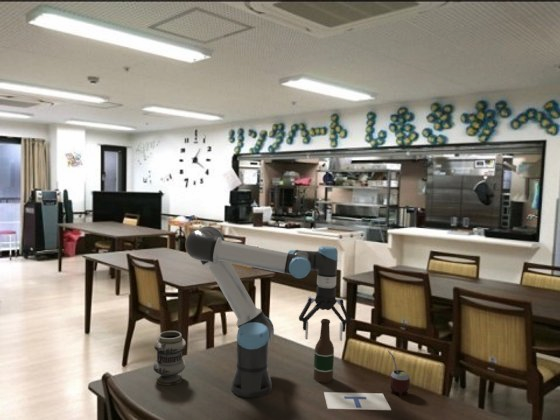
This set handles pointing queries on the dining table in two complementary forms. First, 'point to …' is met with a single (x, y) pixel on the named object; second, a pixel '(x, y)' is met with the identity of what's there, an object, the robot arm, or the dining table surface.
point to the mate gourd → (399, 381)
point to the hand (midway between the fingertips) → (323, 338)
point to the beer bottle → (324, 355)
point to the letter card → (356, 401)
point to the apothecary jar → (169, 357)
